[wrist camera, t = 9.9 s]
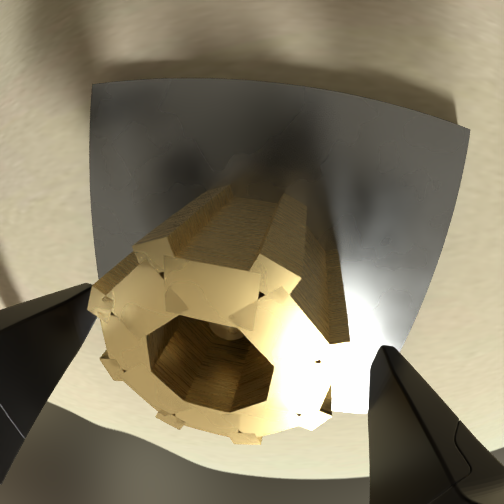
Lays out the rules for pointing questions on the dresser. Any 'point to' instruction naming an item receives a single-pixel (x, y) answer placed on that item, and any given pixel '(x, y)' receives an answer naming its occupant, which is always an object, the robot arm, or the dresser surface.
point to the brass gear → (228, 318)
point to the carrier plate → (287, 185)
